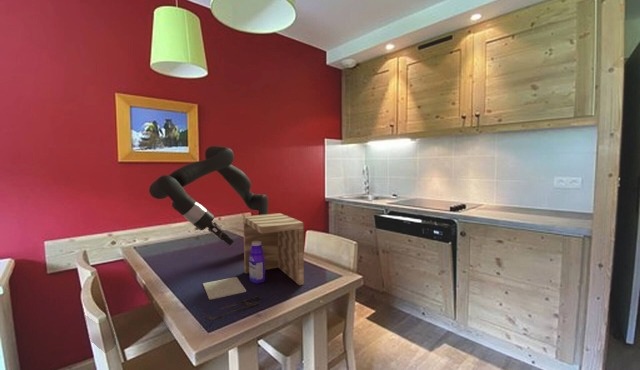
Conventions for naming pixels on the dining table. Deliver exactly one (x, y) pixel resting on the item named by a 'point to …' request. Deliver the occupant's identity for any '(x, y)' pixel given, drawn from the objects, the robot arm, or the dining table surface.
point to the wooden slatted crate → (276, 243)
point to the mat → (223, 288)
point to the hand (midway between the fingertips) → (229, 240)
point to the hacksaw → (236, 309)
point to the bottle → (257, 263)
